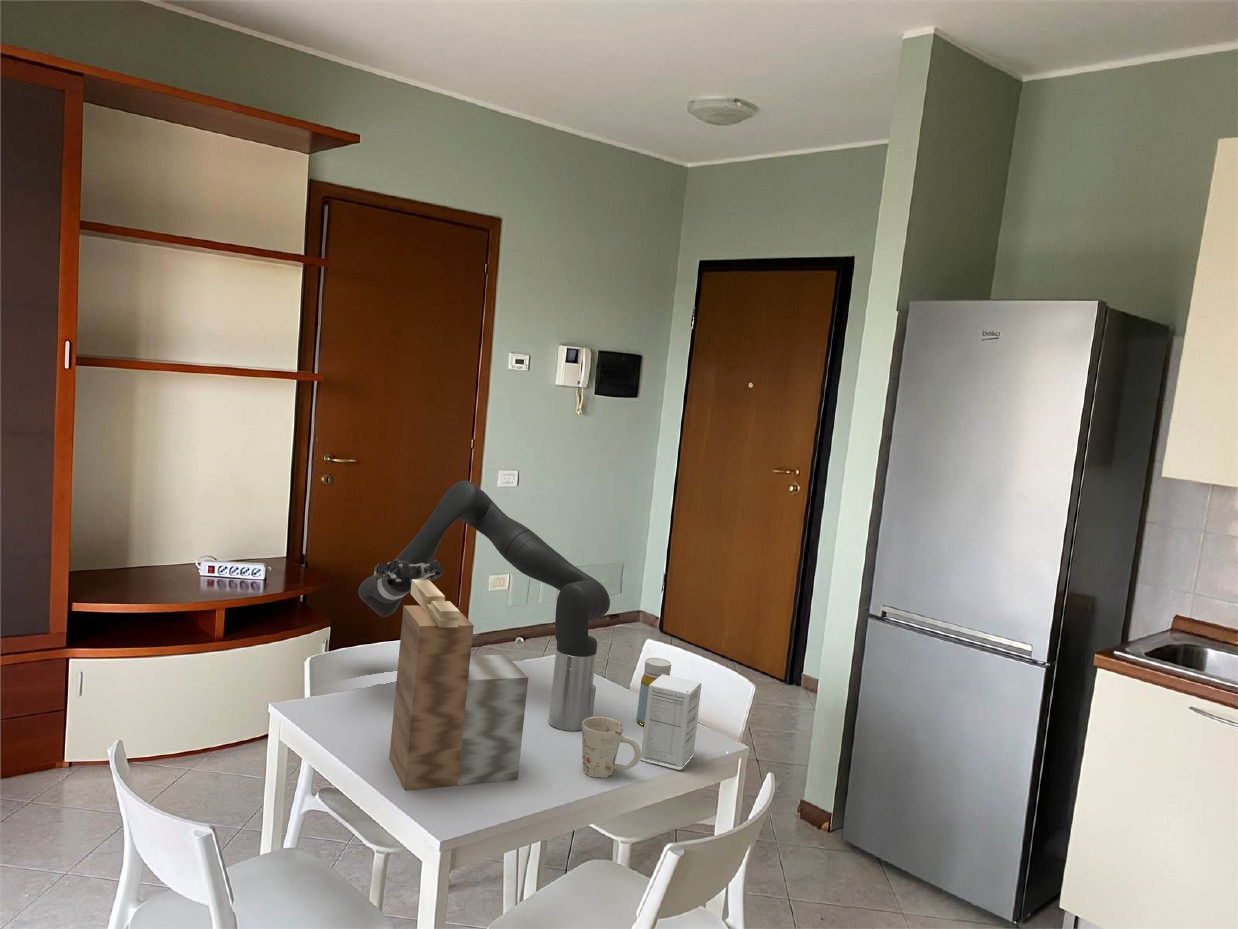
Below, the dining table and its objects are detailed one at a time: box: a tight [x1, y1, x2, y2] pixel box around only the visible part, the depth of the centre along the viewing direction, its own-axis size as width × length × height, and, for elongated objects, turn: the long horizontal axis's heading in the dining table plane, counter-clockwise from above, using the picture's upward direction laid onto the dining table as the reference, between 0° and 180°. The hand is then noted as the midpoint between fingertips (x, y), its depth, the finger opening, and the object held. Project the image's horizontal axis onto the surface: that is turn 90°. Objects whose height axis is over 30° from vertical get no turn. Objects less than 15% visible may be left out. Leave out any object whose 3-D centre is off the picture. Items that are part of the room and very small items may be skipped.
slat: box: [409, 579, 461, 627], centre depth 176 cm, size 4×24×3 cm, turn 25°
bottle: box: [636, 657, 672, 725], centre depth 213 cm, size 7×7×15 cm
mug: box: [581, 716, 642, 778], centre depth 183 cm, size 8×13×10 cm, turn 82°
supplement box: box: [640, 674, 702, 767], centre depth 193 cm, size 10×9×17 cm
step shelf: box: [388, 604, 529, 791], centre depth 176 cm, size 22×14×31 cm, turn 116°
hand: (417, 563), depth 196 cm, fingers open, 8 cm apart
